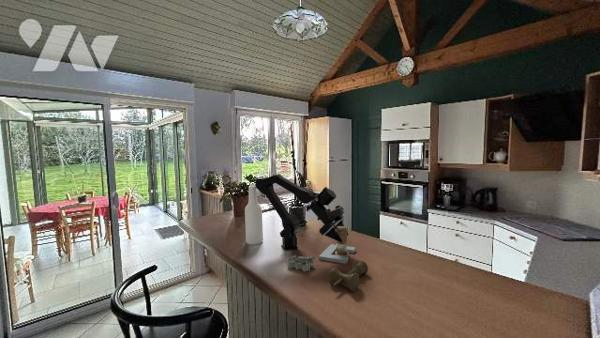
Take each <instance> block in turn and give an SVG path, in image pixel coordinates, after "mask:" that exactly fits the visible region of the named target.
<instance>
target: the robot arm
mask: <svg viewBox="0 0 600 338" xmlns="http://www.w3.org/2000/svg"><path fill="white" fill-rule="evenodd" d="M274 184H275V185H278V186H280V187H281V188H283V189H285V190H286V191H288V192H289V193H291V194H292V195H294V196H295V197H296V199H297V200H298V201H300V202H301V203H302V204H304V205H305V204H306V210H305V211H306V212H309V211H312V212H313V213H314V215H315V216H316V217H317V220H318V221H320V222H322V224H323V225H322V227H321V228H319V234H321V236H322V237H323V236H324V237H327V238H330V239H333V240H334V241H336V242H337V241H339V242H342V241H343V240H342V239H341V237H340V236H339V234H338V233H337V230H336V227H338V226H345V225H344V220H345V219H344V215H343V214H345V211H344V207H343V206H342V205H340V204H338V205H336V206H335V208H334V209H332V210H331V208H327V207H326V206H329V205H330V204H332V202H334V200H335V199H336V198H337V194H336V193H335V192H334V191H333V190H331V189H330V188H328V187H327V186H325V187H324V188H323V189H322V190H321V191H320V192H315V191H314V190H312V189H309V188H307V187H302V186H300V185H298V184H296V183H294V182H292V181H291V180H289V179H287V178H286V177H284V176H282V175H281V174H278V173H276V174H273V175H270V176H268V177H267V176H266V177H265V176H264V177H259V178H257V179H256V180H255V184H254V186H256V190H258V192H260V194H262V195H264V196H265V197H266V198H267V200H268V201H269V203H270V204H271V206H272V207H273V209H274V210H275V212H276V213H277V215H278V216H279V217H280V220H281V225H282V228H283V229H282V230H280V232H279V235H280V238H282V239H281V241H282V243H281V245H280V246H281V248H283V250H285V251H289V250H294V249H298V237H297V233H298V231H299V230H300V228H301V223H300V222H301V220H299V218H298V216H297V214H293V215H292V214H290V212H289V211H288V208H287V207H286V206H285V205H284V203H283V202H282V200H281V199H280V197H279V196H278V194H277V193H276V191H275V188H274ZM309 203H310V204H309ZM349 235H350V234H349V232H348V231H347V237H348V236H349Z"/></svg>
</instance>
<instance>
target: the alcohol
mask: <svg viewBox="0 0 600 338" xmlns="http://www.w3.org/2000/svg"><path fill="white" fill-rule="evenodd" d="M244 221H245V224H244V225H245V243H246V244H247V245H249V246H257V245H260V244H262V243H263V241H264V232H263V231H264V230H263V229H264V228H263V210H262V206H261V204H260V203H259V201H258V194H257V188H256V186H255V185H249V186H248V203H247V204H246V206H245V207H244Z"/></svg>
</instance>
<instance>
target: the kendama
mask: <svg viewBox="0 0 600 338" xmlns="http://www.w3.org/2000/svg"><path fill="white" fill-rule="evenodd" d="M368 270H369V266H368V264H367V263H366V262H365V261H364V260H358V261H356V263H355V264H352V266H351V269H350V271H349V272H348V273H342V272H341V271H340V269H338V267H333V268H332V269H331V270H330V272H329V274H328V280H329V283H330V284H332V286H333V287H335V286H338V285H339V284H342V285H345V286H346V287H347V288H348V290H349V291H350V292H355V291H357V290H358V288H359V285H360V277H361V276H362V275H366V274H367V273H368Z"/></svg>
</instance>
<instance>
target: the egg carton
mask: <svg viewBox="0 0 600 338" xmlns="http://www.w3.org/2000/svg"><path fill="white" fill-rule="evenodd" d="M315 259H316V257H315V256H297V255H295V254H294V255H292V256H290V257H288V258H286V260H287V266H288V268H289V269H290V268H295V270H297V271H298V270H302V272H307V271H308V272H309V271H310V270H311V268H314V267H315V262H314V260H315Z"/></svg>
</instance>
